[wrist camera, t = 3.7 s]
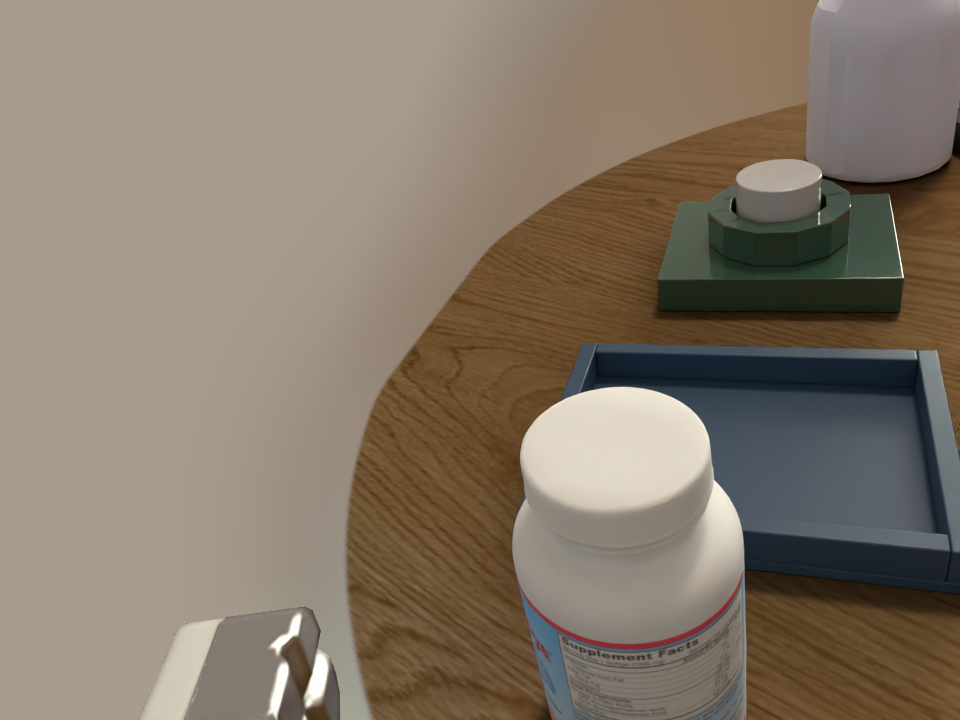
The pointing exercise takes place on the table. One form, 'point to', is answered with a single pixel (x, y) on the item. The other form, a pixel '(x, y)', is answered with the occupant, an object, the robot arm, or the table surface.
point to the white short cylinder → (778, 191)
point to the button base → (784, 258)
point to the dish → (816, 452)
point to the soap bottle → (882, 88)
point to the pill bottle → (630, 562)
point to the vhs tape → (957, 134)
